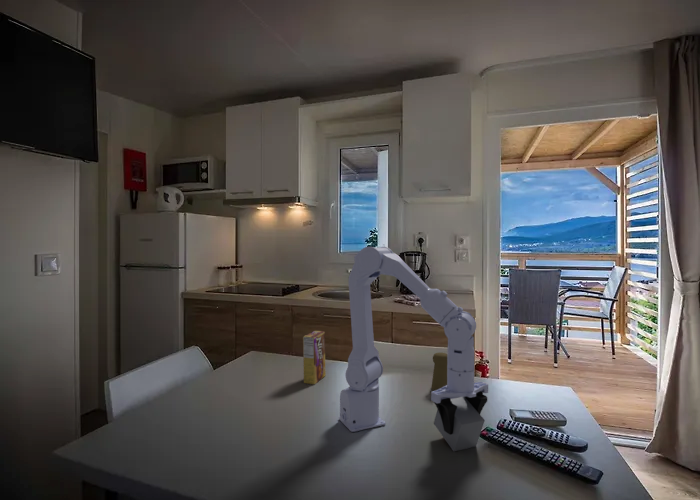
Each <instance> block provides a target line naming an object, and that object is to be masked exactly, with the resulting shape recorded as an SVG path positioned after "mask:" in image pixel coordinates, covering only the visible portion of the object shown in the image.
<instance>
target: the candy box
mask: <svg viewBox="0 0 700 500" xmlns="http://www.w3.org/2000/svg"><path fill="white" fill-rule="evenodd" d="M325 334H326V332H325V331H323V330H313V331H312V332H310V333H307V334H305V335H304V336H302V344H303V347H302V349H303V350H302V351H303V353H302V354H303V359H302V360H303V383H304V384H309V385H316V384H317V383H319V382H320V381H321V380H322V379H323V378H325V376H326V372H327V371H326V342H325V341H326V339H325Z"/></svg>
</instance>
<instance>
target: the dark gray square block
mask: <svg viewBox="0 0 700 500" xmlns="http://www.w3.org/2000/svg"><path fill="white" fill-rule="evenodd" d="M451 401H452V404H454V405H456V406H457V409H456V412H455V415H454V426H453V434H451V435H450V434H448V433H447V432H445V431H444V428H443V423H442V419H441V416H440V413H439V411H438V409H437V408H436V409H437V410H436V414H435V417H434V421H433V425H434V426H435V427H436V429H437V430H438V432H439V433H440V434H441V436H442V437H443V439H444V440H445V442H446V443H447V444H448V446H449V447H450V449H451V450H452V451H453V452H458V451H461V450H466V449H471V448H475V447H477V444H478V442H479V439H480V436H481V432H482V430H483V427H484V423H485V419H484V417H483V416H482V415H481V413H480V414H479V413H478V412H477V411H476V410H475V408H474V407H473V406H472V405H471V404H470V403H469V401H468V400H467V399H466V398H465V397H458V398H454V399H451Z"/></svg>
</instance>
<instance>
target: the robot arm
mask: <svg viewBox="0 0 700 500" xmlns="http://www.w3.org/2000/svg"><path fill="white" fill-rule="evenodd" d="M353 258H354V263H353V265H352V268H351V270H350V272H349V273H350V274H349V276H348V294H349V309H350V311H349V312H350V323H351V324H350V325H351V338H352V340H351V341H352V349H351V352H350V354H349V356H348V358H347V367H346V371H345V380H346V383H347V384H348V387H347V388H344V389H342V390H341V391H340V393H339V394H340V395H339V417H338V420H339V421H340V422H341V423H342V424H343V425H344V426H345V427H346V428H347V429H348V431H350V432H352V433H354V432H358V431H362V430H363V431H364V430H368V429H372V428H376V427H380V426H385V425H386V424H387V423H386V421H385V420H384V419H382V418H381V417H380V383H379V380H380V379H379V378H380V377H382V375H383V372H384V366H383V363H382V361H381V358H380V355H379V354H380V353H379V351H378V349H377V348H376V347H375V339H374V325H373V324H374V323H373V308H372V296H371V295H372V294H371V293H372V292H371V284H372V283H373V282H374V281H375V280H376V279H377V278H378V277H379V276H380V275H383V276H391V277H395V278H396V280H399V282H400V283H401V284H403V286H405V287H407V288H408V290H409V291H411V292H412V293H413V294H414V295H415V296H416V297H418V299H419V300H420V301H419V302H420V307H421V308H422V309H423V310H424V311H425V312H426V313H427V314H428V315H429V316H430V317H431V318H432V319H433V320H434V321H435V322H437V323H438V324H439V325H440V326H441V327H442V328H443V331H444V332H443V333H444V335H445V336H446V338H447V348H446V349H447V353H446V354H447V385H446V386H444V387H442V388H440V389H438V390H435V391H434V390H431V391H430V392H431V395H430V396H431V397H430V400H431V401H432V402H433V403H434V405H435V407H436V409H438V411H439V413H440V416H441V419H442V423H443V428H444V431H445V432H447V433H448V434H450V435H451V434H453V426H454V415H455V412H456V409H457V406H456V405H454V404H452V401H451V399H454V398H458V397H465V398H466V399H467V400H468V401H469V403H470V404H471V405H472V406H473V407H474V408H475V410H476V411H477V412H478V413H479V414H480V415H481V413H482V411H483V408H484V407H485V405H486V404H487V403H488V396H487V395H485V394H488V393H489V384H488V383H486V382H484V381H477V382H475V348H474V345H475V341H474V340H475V338H474V336H473V335H474V333H476V330H477V323H476V322H477V321H476V319H475V318H474V317H473V315H472V313H471V312H467V311H464V308H463V307H462V306H458V305H457V304H455V303H454V302H453V300H451V299H450V297H447V296H448V293H447V291H445V290H444V289H443V290H440V289H439V288H431V287H429V285H428V284H426V283H425V281H423V280H422V279H421V278H420V276H419V275H418V274H417V273H415V271H414V270H413V269H412V268H411V267H410V266H409V265H408V264H407V263H406V262H405V261H404V260H403V259H402V258H401V257H400V256H399V255H398V254H396V252H393V250H392V249H390V248H389V247H388V246H379V247H378V246H377V247H376V246H375V247H374V246H365V247H363V248H362V249H360V250H359V251H358V253H357V254H355V255H354V256H353Z"/></svg>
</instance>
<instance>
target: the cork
mask: <svg viewBox="0 0 700 500" xmlns="http://www.w3.org/2000/svg"><path fill="white" fill-rule="evenodd" d="M432 361H433V365H434V366H433V371H432V372H433V374H432V378H431V379H432V380H431V386H430V389H431V391H435V390H438V389H440V388H442V387H444V386H446V385H447V353H446V352H435V353H434V354H433V356H432Z"/></svg>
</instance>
